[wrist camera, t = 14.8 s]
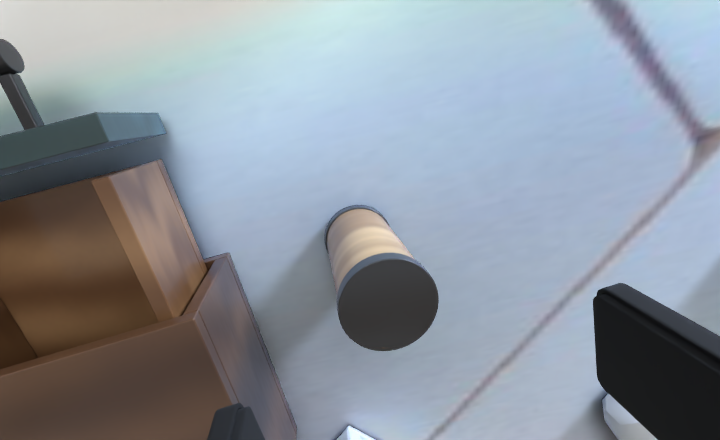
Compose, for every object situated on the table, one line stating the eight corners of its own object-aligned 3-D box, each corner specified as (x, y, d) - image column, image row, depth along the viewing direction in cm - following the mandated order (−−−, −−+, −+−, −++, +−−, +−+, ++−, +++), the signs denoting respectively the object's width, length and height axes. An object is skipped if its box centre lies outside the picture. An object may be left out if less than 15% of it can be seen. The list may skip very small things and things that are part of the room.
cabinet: (6, 315, 24) (-147, 420, 16) (228, 251, 25) (193, 318, 17) (112, 486, 29) (37, 635, 21) (296, 426, 30) (294, 545, 22)
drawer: (-135, 98, 19) (-358, 90, 13) (127, 35, 20) (45, -2, 14) (45, 384, 25) (-46, 480, 18) (243, 324, 26) (224, 395, 19)
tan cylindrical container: (316, 216, 25) (324, 278, 16) (379, 196, 26) (426, 244, 16) (335, 275, 27) (355, 364, 17) (396, 255, 27) (448, 332, 17)
